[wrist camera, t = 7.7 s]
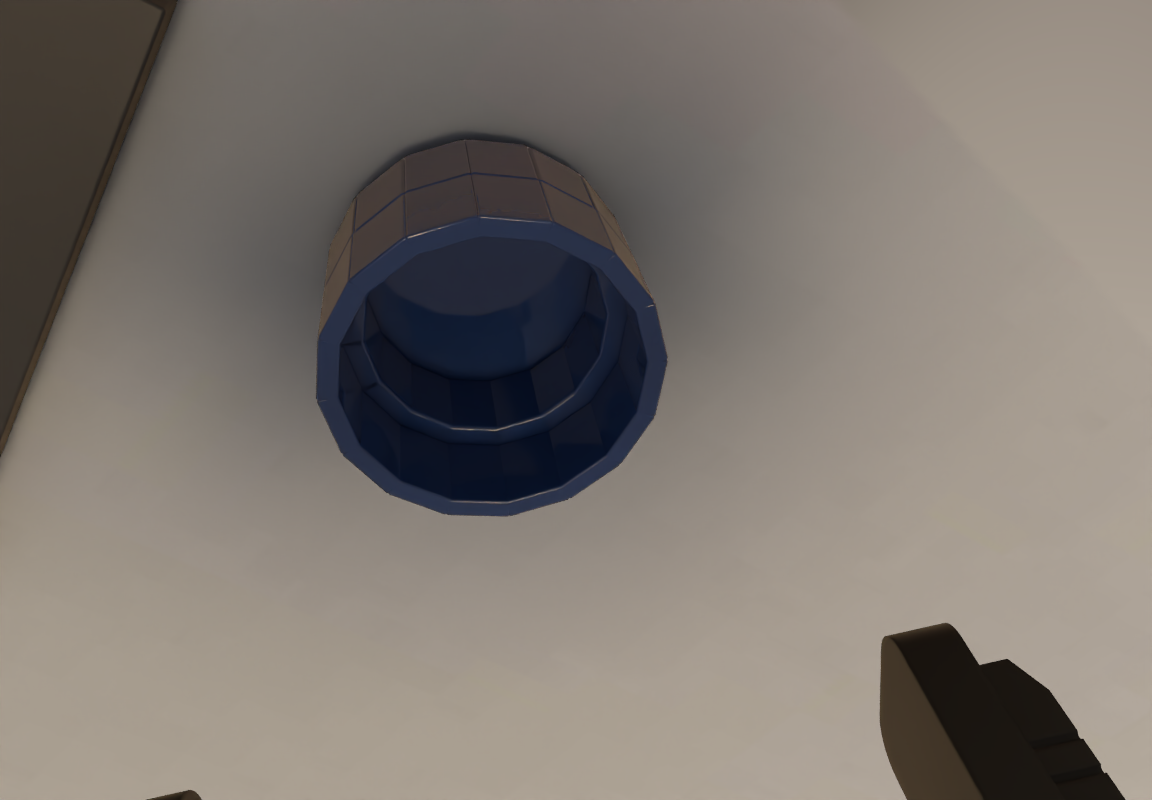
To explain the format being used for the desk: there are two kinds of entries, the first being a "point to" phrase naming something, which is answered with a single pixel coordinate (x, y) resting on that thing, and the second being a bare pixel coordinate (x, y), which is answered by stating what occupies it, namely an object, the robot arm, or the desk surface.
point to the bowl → (485, 332)
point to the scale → (59, 152)
